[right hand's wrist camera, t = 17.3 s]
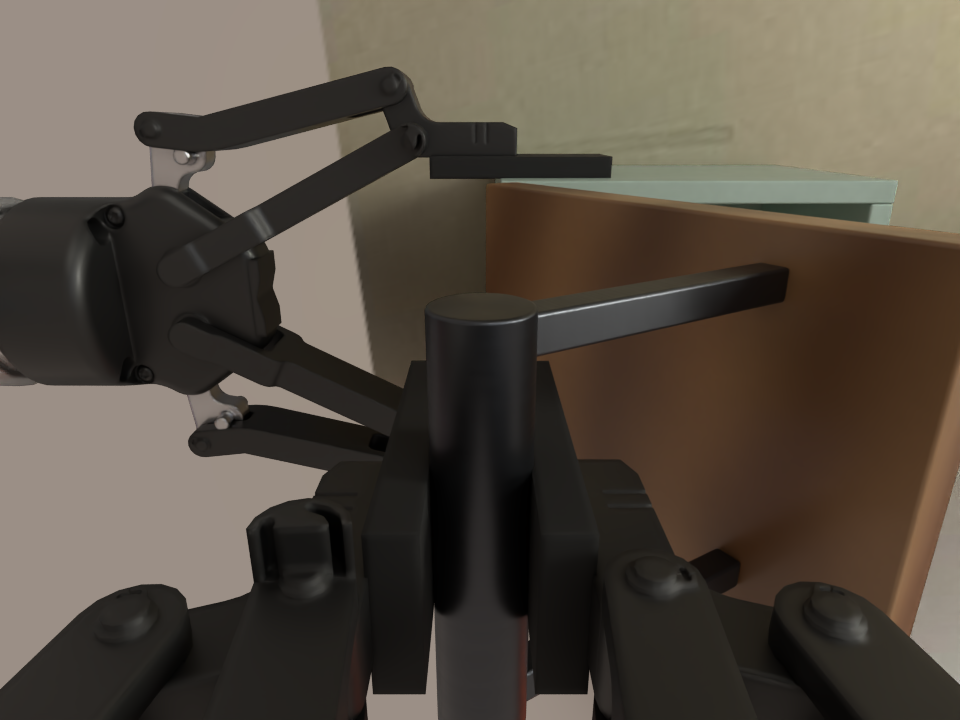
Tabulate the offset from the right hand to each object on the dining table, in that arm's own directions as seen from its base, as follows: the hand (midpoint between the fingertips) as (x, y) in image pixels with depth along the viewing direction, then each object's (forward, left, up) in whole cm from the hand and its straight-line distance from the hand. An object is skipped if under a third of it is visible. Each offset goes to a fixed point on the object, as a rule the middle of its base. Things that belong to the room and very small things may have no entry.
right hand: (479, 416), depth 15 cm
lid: (-2, +4, -3) cm, 6 cm away
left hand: (-2, +4, -12) cm, 13 cm away
